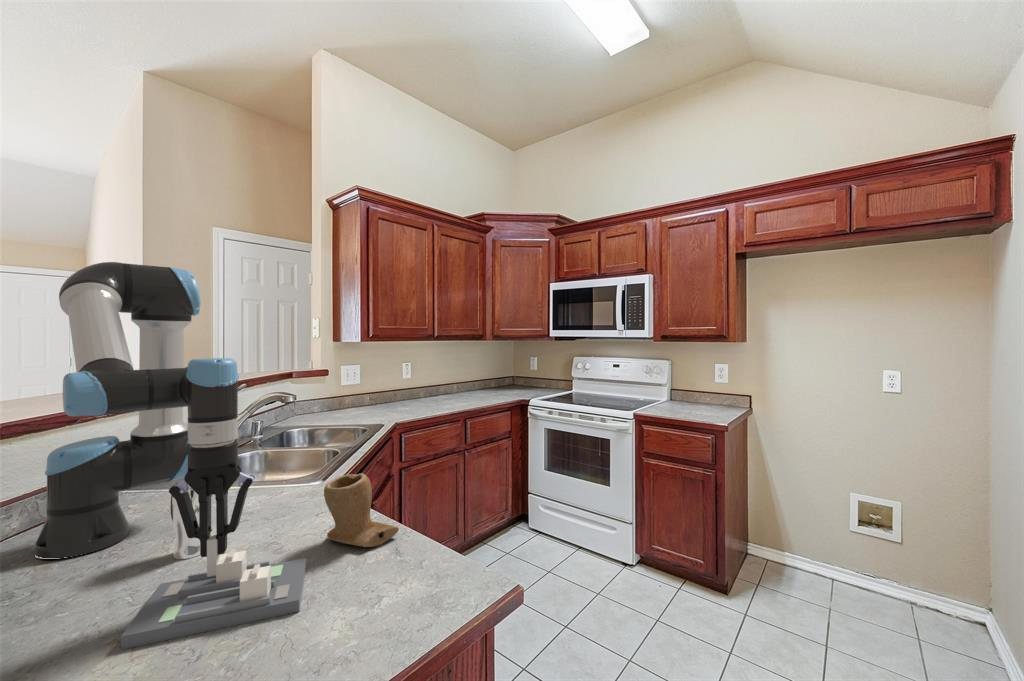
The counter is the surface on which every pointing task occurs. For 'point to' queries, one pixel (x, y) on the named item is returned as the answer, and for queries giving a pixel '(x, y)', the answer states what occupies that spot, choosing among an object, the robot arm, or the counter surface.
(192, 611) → the switch board
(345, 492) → the clay platform pipe
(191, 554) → the beer glass
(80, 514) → the robot arm
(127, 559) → the counter surface
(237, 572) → the tab
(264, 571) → the tab
